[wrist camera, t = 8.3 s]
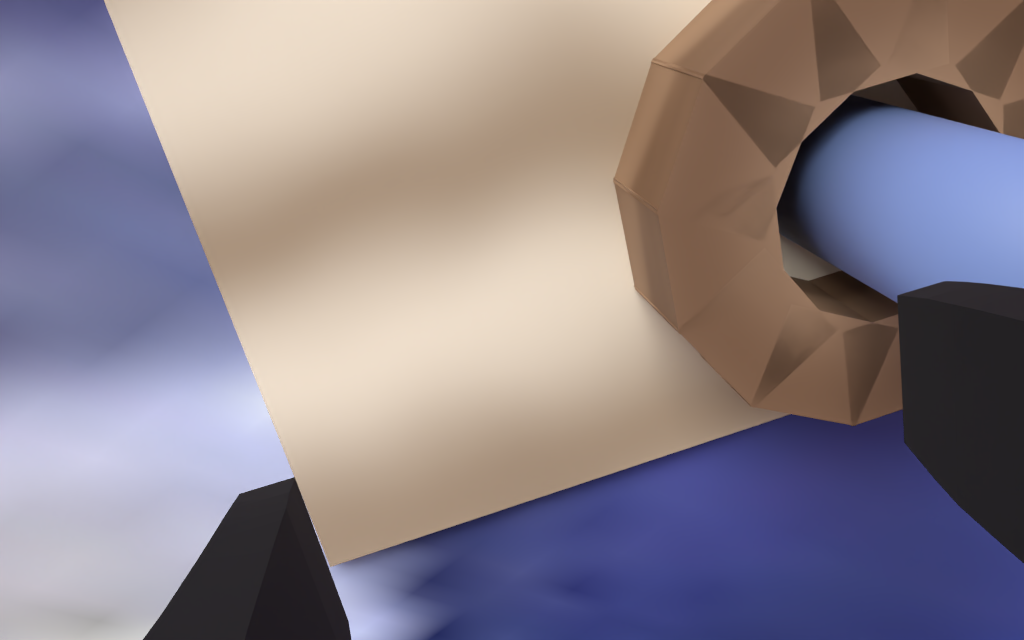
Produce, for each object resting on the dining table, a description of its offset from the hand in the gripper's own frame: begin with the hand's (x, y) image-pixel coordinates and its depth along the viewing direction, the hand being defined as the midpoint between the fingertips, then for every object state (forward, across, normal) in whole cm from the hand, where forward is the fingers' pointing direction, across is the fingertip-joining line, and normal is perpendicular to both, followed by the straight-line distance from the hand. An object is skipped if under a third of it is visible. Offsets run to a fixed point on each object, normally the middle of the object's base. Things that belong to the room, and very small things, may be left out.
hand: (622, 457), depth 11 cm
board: (+9, -4, -1) cm, 10 cm away
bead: (+9, -7, +1) cm, 11 cm away
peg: (+9, -7, 0) cm, 11 cm away
